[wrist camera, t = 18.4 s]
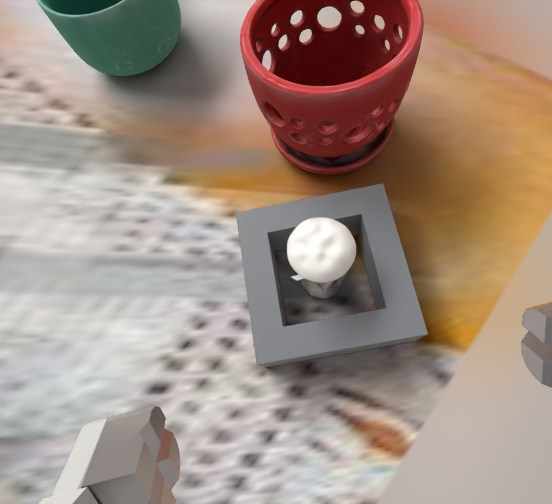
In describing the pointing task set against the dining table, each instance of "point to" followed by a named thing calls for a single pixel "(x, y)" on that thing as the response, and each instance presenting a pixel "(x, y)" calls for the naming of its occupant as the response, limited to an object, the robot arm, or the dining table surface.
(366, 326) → the socket collar
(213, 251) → the dining table surface
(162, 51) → the mug
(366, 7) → the plant pot
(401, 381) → the dining table surface
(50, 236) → the dining table surface
